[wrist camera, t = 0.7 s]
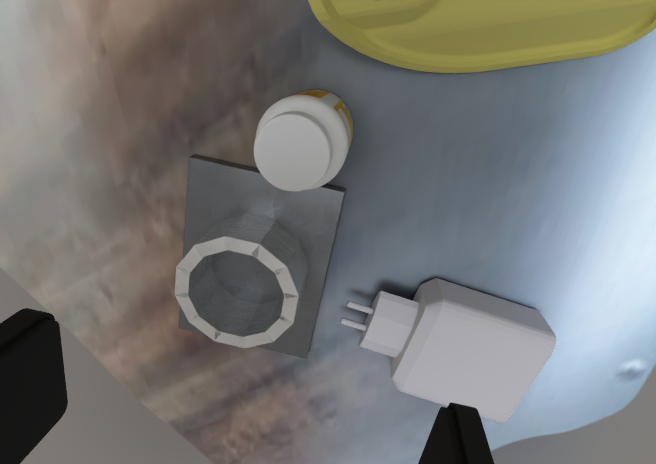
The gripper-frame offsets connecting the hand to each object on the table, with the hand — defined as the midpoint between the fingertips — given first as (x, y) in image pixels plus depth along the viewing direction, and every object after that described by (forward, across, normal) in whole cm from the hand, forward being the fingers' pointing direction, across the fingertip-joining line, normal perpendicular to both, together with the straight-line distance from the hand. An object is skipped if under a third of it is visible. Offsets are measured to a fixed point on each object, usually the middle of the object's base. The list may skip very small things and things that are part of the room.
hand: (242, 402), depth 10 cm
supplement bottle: (+23, +2, -3) cm, 23 cm away
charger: (+23, -10, +11) cm, 28 cm away
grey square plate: (+22, +5, +9) cm, 25 cm away
